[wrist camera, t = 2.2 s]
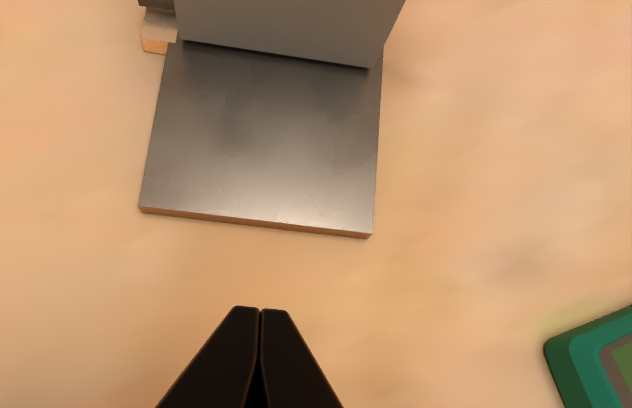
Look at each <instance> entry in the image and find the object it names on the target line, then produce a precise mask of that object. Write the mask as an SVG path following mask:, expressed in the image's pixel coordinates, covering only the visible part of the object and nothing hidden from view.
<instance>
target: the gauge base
mask: <svg viewBox="0 0 632 408" xmlns="http://www.w3.org/2000/svg"><path fill="white" fill-rule="evenodd" d="M141 41H142V44H143V48H144V51H146V52H153V53H159V54H166V57H165V63H164V68H163V73H162V79H161V84H160V90H159V95H158V101H157V106H156V111H155V117H154V122H153V128H152V133H151V139H150V144H149V149H148V155H147V160H146V166H145V171H144V177H143V182H142V187H141V193H140V198H139V204H138V206H139V208H140V210H141V211H142V213H150V214H158V215H167V216H175V217H184V218H192V219H201V220H209V221H218V222H226V223H235V224H243V225H252V226H260V227H269V228H277V229H286V230H294V231H303V232H311V233H320V234H328V235H337V236H345V237H354V238H362V239H367V238H369V237H370V236H371V235H372V234H373V221H374V204H375V187H376V169H377V152H378V135H379V117H380V100H381V83H382V65H383V48H384V46H383V48H382V50H381V53H380V55H379V57H378V59H377V61H376V63H375V65H374V67H373V69H372V68H366V67H359V66H353V65H346V64H340V63H333V62H327V61H320V60H314V59H307V58H301V57H294V56H288V55H281V54H275V53H268V52H262V51H255V50H249V49H242V48H236V47H229V46H223V45H216V44H210V43H203V42H197V41H190V40H184V39H180V37H179V31H178V25H177V19H176V12H175V11H171V10H164V9H158V8H152V7H147V8H146V13H145V18H144V23H143V28H142V33H141Z"/></svg>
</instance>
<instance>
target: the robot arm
mask: <svg viewBox="0 0 632 408" xmlns="http://www.w3.org/2000/svg"><path fill="white" fill-rule="evenodd" d="M155 408H344V407H343V406H342V404H341V402H340V400H339V399H338V397H337V395H336V394H335V392H334V390H333V389H332V387H331V385H330V383H329V382H328V380H327V378H326V377H325V375H324V373H323V372H322V370H321V368H320V366H319V365H318V363H317V361H316V360H315V358H314V356H313V354H312V353H311V351H310V349H309V348H308V346H307V344H306V343H305V341H304V339H303V337H302V336H301V334H300V332H299V331H298V329H297V327H296V326H295V324H294V322H293V320H292V319H291V317H290V315H289V314H288V312H286V311H284V310H276V309H266V308H265V309H262V310H261V312H260V310H259V309H258V308H256V307H246V306H234V307H233V308H232V309H231V310H230V312H229V313H228V314H227V315H226V317H225V318H224V319H223V321H222V322H221V323H220V324H219V326H218V327H217V328H216V330H215V331H214V332H213V333H212V335H211V336H210V337H209V339H208V340H207V341H206V342H205V344H204V345H203V346H202V348H201V349H200V350H199V351H198V353H197V354H196V355H195V357H194V358H193V359H192V360H191V362H190V363H189V364H188V366H187V367H186V368H185V369H184V371H183V372H182V373H181V374H180V376H179V377H178V378H177V380H176V381H175V382H174V383H173V385H172V386H171V387H170V389H169V390H168V391H167V392H166V394H165V395H164V396H163V398H162V399H161V400H160V401H159V403H158V404H157V405H156V407H155Z"/></svg>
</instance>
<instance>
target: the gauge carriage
mask: <svg viewBox="0 0 632 408" xmlns="http://www.w3.org/2000/svg"><path fill="white" fill-rule="evenodd" d="M138 3H139V6H145V7H152V8H158V9H164V10H171V11H175V12H176V19H177V25H178V31H179V37H180V39H184V40H190V41H197V42H203V43H210V44H216V45H223V46H229V47H236V48H242V49H249V50H255V51H262V52H268V53H275V54H281V55H288V56H294V57H301V58H307V59H314V60H320V61H327V62H333V63H340V64H346V65H353V66H359V67H366V68H372V69H373V67H374V65H375V63H376V61H377V59H378V57H379V55H380V53H381V50H382V48H383V46H384V44H385V42H386V40H387V38H388V36H389V34H390V32H391V30H392V28H393V25H394V23H395V21H396V19H397V17H398V15H399V13H400V11H401V9H402V7H403V5H404V3H405V0H138Z"/></svg>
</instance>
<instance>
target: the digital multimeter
mask: <svg viewBox="0 0 632 408" xmlns="http://www.w3.org/2000/svg"><path fill="white" fill-rule="evenodd" d="M545 354H546V357H547V360H548V363H549V365H550V368H551V370H552V373H553V376H554V378H555V381H556V384H557V386H558V389H559V391H560V394H561V396H562V399H563V401H564V403H565V406H566V408H632V305H631V306H629V307H626V308H624V309H621V310H619V311H617V312H614V313H612V314H609V315H607V316H605V317H602V318H600V319H597V320H595V321H592V322H590V323H588V324H585V325H583V326H580V327H578V328H575V329H573V330H571V331H568V332H566V333H563V334H561V335H558V336H556V337H554V338H551V339H550V340H549V341H548V342H547V343H546V346H545Z"/></svg>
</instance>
